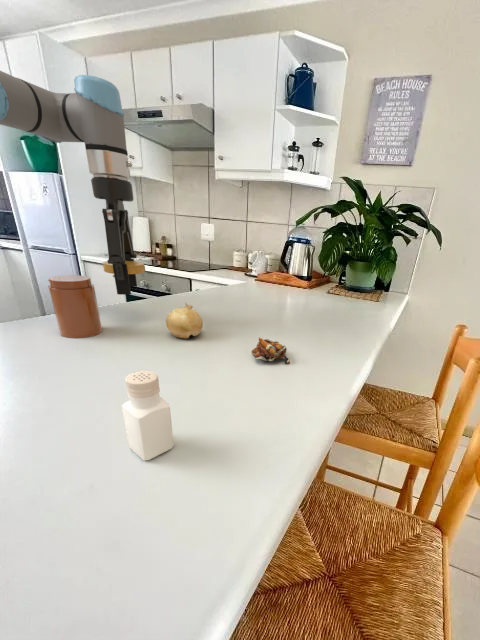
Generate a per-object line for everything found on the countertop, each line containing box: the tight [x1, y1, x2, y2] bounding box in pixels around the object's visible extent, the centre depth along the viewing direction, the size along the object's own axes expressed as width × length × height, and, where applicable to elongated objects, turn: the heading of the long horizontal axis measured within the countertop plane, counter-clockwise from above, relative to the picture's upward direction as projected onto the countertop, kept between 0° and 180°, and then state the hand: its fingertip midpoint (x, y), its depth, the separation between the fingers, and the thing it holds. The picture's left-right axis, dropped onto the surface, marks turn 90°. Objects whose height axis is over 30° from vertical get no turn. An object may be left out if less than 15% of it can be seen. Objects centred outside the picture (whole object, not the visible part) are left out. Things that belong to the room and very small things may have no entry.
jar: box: [47, 274, 103, 339], centre depth 69 cm, size 8×8×12 cm
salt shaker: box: [121, 370, 175, 461], centre depth 36 cm, size 4×4×10 cm
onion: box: [165, 302, 204, 339], centre depth 73 cm, size 8×8×7 cm
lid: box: [102, 260, 146, 275], centre depth 74 cm, size 9×9×2 cm
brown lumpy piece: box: [251, 336, 291, 365], centre depth 68 cm, size 7×12×4 cm, turn 15°
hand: (127, 289), depth 77 cm, fingers closed on lid, 9 cm apart
